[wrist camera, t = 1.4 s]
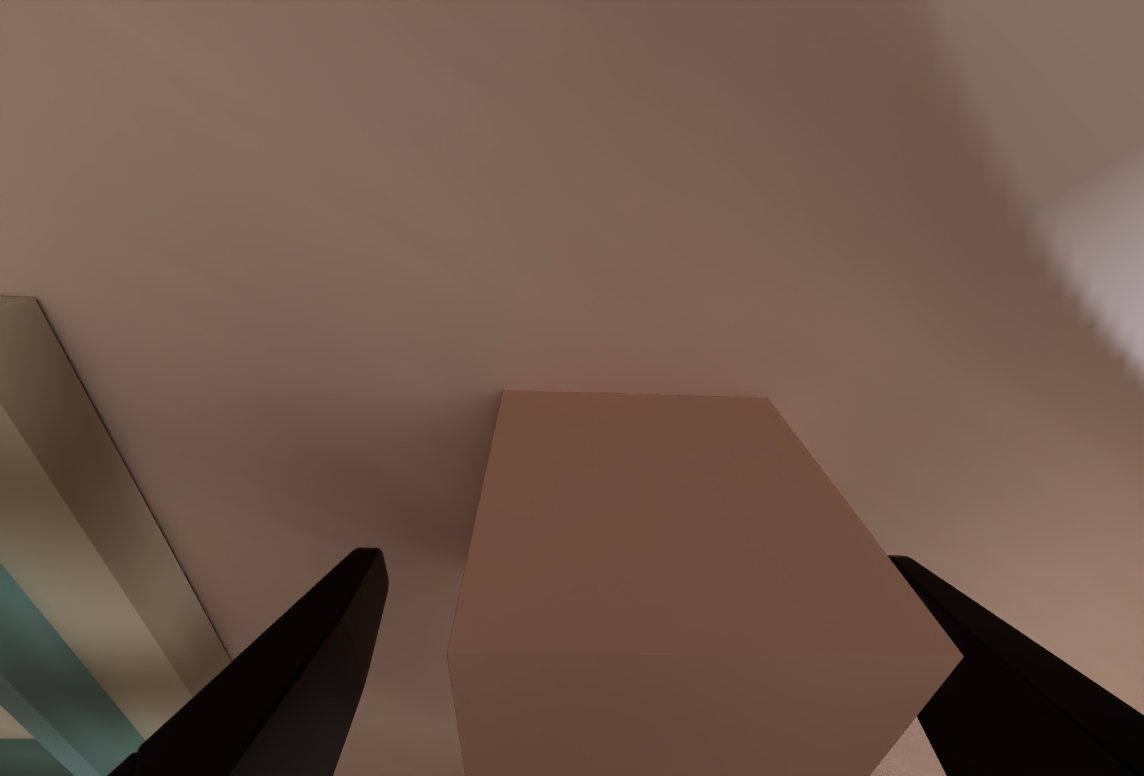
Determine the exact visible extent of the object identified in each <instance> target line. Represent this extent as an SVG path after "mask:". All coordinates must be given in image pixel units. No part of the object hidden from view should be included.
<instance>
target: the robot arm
mask: <svg viewBox="0 0 1144 776" xmlns="http://www.w3.org/2000/svg"><path fill="white" fill-rule="evenodd" d="M887 556H888V557H889V558H890V560H891V561H892V562H893V564H894V565H895V566H896V568H897V569H898V570H899V572H900V573H901V574H902V576H903V577H904V578H905V579H906V581H907V582H908V583H909V585H910V586H911V587H912V589H913V590H914V591H915V593H916V594H917V595H918V597H919V598H920V599H921V601H922V602H923V603H924V605H925V606H926V607H927V608H928V610H929V611H930V612H931V614H932V615H933V616H934V618H935V619H936V620H937V622H938V623H939V624H940V626H941V627H942V628H943V630H944V631H945V632H946V634H947V635H948V636H949V637H950V639H951V640H952V641H953V643H954V644H955V645H956V647H957V648H958V649H959V651H960V652H961V653H962V655H963V656H964V657H963V658H962V660H961V661H960V662H959V663H958V665H957V666H956V667H955V668H954V670H953V671H952V672H951V674H950V675H949V676H948V677H947V679H946V680H945V681H944V682H943V684H942V685H941V686H940V687H939V689H938V690H937V691H936V692H935V694H934V695H933V696H932V697H931V699H930V700H929V701H928V703H927V704H926V705H925V706H924V708H923V709H922V710H921V711H920V713H919V714H918V715H917V718H918V720H919V722H920V724H921V726H922V728H923V730H924V732H925V734H926V736H927V738H928V740H929V742H930V744H931V746H932V748H933V750H934V752H935V754H936V756H937V758H938V760H939V762H940V763H941V765H942V767H943V769H944V771H945V773H946V775H947V776H1144V715H1143V714H1141V713H1140V712H1138V711H1137V710H1135V709H1134V708H1132V707H1131V706H1129V705H1128V704H1126V703H1125V702H1123V701H1122V700H1120V699H1119V698H1117V697H1116V696H1114V695H1113V694H1111V693H1110V692H1108V691H1107V690H1106V689H1104V688H1103V687H1101V686H1100V685H1098V684H1097V683H1095V682H1094V681H1092V680H1091V679H1089V678H1088V677H1086V676H1085V675H1083V674H1082V673H1080V672H1079V671H1077V670H1076V669H1074V668H1073V667H1071V666H1070V665H1068V664H1067V663H1066V662H1064V661H1063V660H1061V659H1060V658H1058V657H1057V656H1055V655H1054V654H1052V653H1051V652H1049V651H1048V650H1046V649H1045V648H1043V647H1042V646H1040V645H1039V644H1037V643H1036V642H1034V641H1033V640H1031V639H1030V638H1028V637H1027V636H1025V635H1024V634H1023V633H1021V632H1020V631H1018V630H1017V629H1015V628H1014V627H1012V626H1011V625H1009V624H1008V623H1006V622H1005V621H1003V620H1002V619H1000V618H999V617H997V616H996V615H994V614H993V613H991V612H990V611H988V610H987V609H985V608H984V607H983V606H981V605H980V604H978V603H977V602H975V601H974V600H972V599H971V598H969V597H968V596H966V595H965V594H963V593H962V592H960V591H959V590H957V589H956V588H954V587H953V586H951V585H950V584H948V583H947V582H945V581H944V580H942V579H941V578H940V577H938V576H937V575H935V574H934V573H932V572H931V571H929V570H928V569H926V568H925V567H923V566H922V565H920V564H919V563H917V562H916V561H914V560H913V559H911V558H909V557H907V556H897V555H887ZM388 586H389V579H388V574H387V569H386V565H385V560H384V556H383V552H382V550H381V549H380V548H369V547H360V548H356V549H355V550H353V551H352V552H351V553H350V554H348V555H347V556H346V557H345V558H344V559H343V560H342V561H341V562H340V563H339V564H338V565H336V566H335V567H334V568H333V569H332V570H331V571H330V572H329V573H328V574H327V575H326V576H324V577H323V578H322V579H321V580H320V581H319V582H318V583H317V584H316V585H315V586H314V587H312V588H311V589H310V590H309V591H308V592H307V593H306V594H305V595H304V596H303V597H302V598H300V599H299V600H298V601H297V602H296V603H295V604H294V605H293V606H292V607H291V608H290V609H288V610H287V611H286V612H285V613H284V614H283V615H282V616H281V617H280V618H279V619H278V620H276V621H275V622H274V623H273V624H272V625H271V626H270V627H269V628H268V629H267V630H266V631H264V632H263V633H262V634H261V635H260V636H259V637H258V638H257V639H256V640H255V641H254V642H253V643H251V644H250V645H249V646H248V647H247V648H246V649H245V650H244V651H243V652H242V653H241V654H239V655H238V656H237V657H236V658H235V659H234V660H233V661H232V662H231V663H230V664H229V665H227V666H226V667H225V668H224V669H223V670H222V671H221V672H220V673H219V674H218V675H217V676H215V677H214V678H213V679H212V680H211V681H210V682H209V683H208V684H207V685H206V686H205V687H203V688H202V689H201V690H200V691H199V692H198V693H197V694H196V695H195V696H194V697H193V698H191V699H190V700H189V701H188V702H187V703H186V704H185V705H184V706H183V707H182V708H181V709H179V710H178V711H177V712H176V713H175V714H174V715H173V716H172V717H171V718H170V719H169V720H167V721H166V722H165V723H164V724H163V725H162V726H161V727H160V728H159V729H158V730H157V731H155V732H154V733H153V734H152V735H151V736H150V737H149V738H148V739H147V740H146V741H145V742H143V743H142V744H141V745H140V746H139V748H138V751H137V752H134V753H131V754H130V755H129V756H128V757H127V758H126V759H125V760H124V761H122V762H121V763H120V764H119V765H118V766H117V767H116V768H115V769H114V770H113V771H112V772H110V773H109V774H108V775H107V776H333V774H334V771H335V769H336V766H337V763H338V760H339V757H340V754H341V752H342V749H343V746H344V743H345V740H346V737H347V735H348V732H349V729H350V726H351V723H352V720H353V718H354V715H355V712H356V709H357V706H358V704H359V701H360V698H361V695H362V692H363V688H364V685H365V682H366V678H367V675H368V671H369V667H370V663H371V659H372V655H373V650H374V646H375V642H376V638H377V634H378V630H379V626H380V622H381V618H382V613H383V609H384V605H385V601H386V597H387V593H388Z"/></svg>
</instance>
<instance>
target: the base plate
mask: <svg viewBox="0 0 1144 776" xmlns="http://www.w3.org/2000/svg"><path fill="white" fill-rule="evenodd" d="M230 663H231V660H230V658H229V656H228V655H227V653H226V651H225V649H224V647H223V645H222V644H221V642H220V640H219V638H218V636H217V634H216V632H215V631H214V629H213V627H212V625H211V623H210V621H209V619H208V618H207V616H206V614H205V612H204V610H203V608H202V607H201V605H200V603H199V601H198V599H197V597H196V595H195V594H194V592H193V590H192V588H191V586H190V584H189V583H188V581H187V579H186V577H185V575H184V573H183V571H182V570H181V568H180V566H179V564H178V562H177V560H176V558H175V557H174V555H173V553H172V551H171V549H170V547H169V546H168V544H167V542H166V540H165V538H164V536H163V534H162V533H161V531H160V529H159V527H158V525H157V523H156V522H155V520H154V518H153V516H152V514H151V512H150V510H149V509H148V507H147V505H146V503H145V501H144V499H143V498H142V496H141V494H140V492H139V490H138V488H137V486H136V485H135V483H134V481H133V479H132V477H131V475H130V473H129V472H128V470H127V468H126V466H125V464H124V462H123V461H122V459H121V457H120V455H119V453H118V451H117V449H116V448H115V446H114V444H113V442H112V440H111V438H110V437H109V435H108V433H107V431H106V429H105V427H104V425H103V424H102V422H101V420H100V418H99V416H98V414H97V412H96V411H95V409H94V407H93V405H92V403H91V401H90V400H89V398H88V396H87V394H86V392H85V390H84V388H83V387H82V385H81V383H80V381H79V379H78V377H77V376H76V374H75V372H74V370H73V368H72V366H71V364H70V363H69V361H68V359H67V357H66V355H65V353H64V351H63V350H62V348H61V346H60V344H59V342H58V340H57V339H56V337H55V335H54V333H53V331H52V329H51V327H50V326H49V324H48V322H47V320H46V318H45V316H44V315H43V313H42V311H41V309H40V307H39V305H38V303H37V302H36V300H35V298H34V297H9V296H0V776H107V775H108V774H109V773H110V772H112V771H113V770H114V769H115V768H116V767H117V766H118V765H119V764H120V763H121V762H122V761H124V760H125V759H126V758H127V757H128V756H129V755H130V754H131V753H134V752H137V751H138V748H139V746H140V745H141V744H142V743H143V742H145V741H146V740H147V739H148V738H149V737H150V736H151V735H152V734H153V733H154V732H155V731H157V730H158V729H159V728H160V727H161V726H162V725H163V724H164V723H165V722H166V721H167V720H169V719H170V718H171V717H172V716H173V715H174V714H175V713H176V712H177V711H178V710H179V709H181V708H182V707H183V706H184V705H185V704H186V703H187V702H188V701H189V700H190V699H191V698H193V697H194V696H195V695H196V694H197V693H198V692H199V691H200V690H201V689H202V688H203V687H205V686H206V685H207V684H208V683H209V682H210V681H211V680H212V679H213V678H214V677H215V676H217V675H218V674H219V673H220V672H221V671H222V670H223V669H224V668H225V667H226V666H227V665H229V664H230Z"/></svg>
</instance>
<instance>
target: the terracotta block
mask: <svg viewBox="0 0 1144 776" xmlns="http://www.w3.org/2000/svg"><path fill="white" fill-rule="evenodd" d="M963 657H964V656H963V655H962V653H961V652H960V651H959V649H958V648H957V647H956V645H955V644H954V643H953V641H952V640H951V639H950V637H949V636H948V635H947V634H946V632H945V631H944V630H943V628H942V627H941V626H940V624H939V623H938V622H937V620H936V619H935V618H934V616H933V615H932V614H931V612H930V611H929V610H928V608H927V607H926V606H925V605H924V603H923V602H922V601H921V599H920V598H919V597H918V595H917V594H916V593H915V591H914V590H913V589H912V587H911V586H910V585H909V583H908V582H907V581H906V579H905V578H904V577H903V576H902V574H901V573H900V572H899V570H898V569H897V568H896V566H895V565H894V564H893V562H892V561H891V560H890V558H889V557H888V556H887V554H886V553H885V552H884V550H883V549H882V548H881V547H880V545H879V544H878V543H877V541H876V540H875V539H874V537H873V536H872V535H871V533H870V532H869V531H868V529H867V528H866V527H865V525H864V524H863V523H862V521H861V520H860V519H859V518H858V516H857V515H856V514H855V512H854V511H853V510H852V508H851V507H850V506H849V504H848V503H847V502H846V500H845V499H844V498H843V496H842V495H841V494H840V492H839V491H838V490H837V489H836V487H835V486H834V485H833V483H832V482H831V481H830V479H829V478H828V477H827V475H826V474H825V473H824V471H823V470H822V469H821V467H820V466H819V465H818V463H817V462H816V461H815V459H814V458H813V457H812V456H811V454H810V453H809V452H808V450H807V449H806V448H805V446H804V445H803V444H802V442H801V441H800V440H799V438H798V437H797V436H796V434H795V433H794V432H793V430H792V429H791V428H790V427H789V425H788V424H787V423H786V421H785V420H784V419H783V417H782V416H781V415H780V413H779V412H778V411H777V409H776V408H775V407H774V405H773V404H772V403H771V401H770V400H769V399H768V398H758V397H723V396H687V395H652V394H616V393H581V392H545V391H510V390H503V394H502V399H501V403H500V408H499V413H498V417H497V422H496V427H495V431H494V436H493V441H492V445H491V450H490V455H489V459H488V464H487V469H486V473H485V478H484V483H483V487H482V492H481V497H480V501H479V506H478V511H477V515H476V520H475V525H474V529H473V534H472V539H471V543H470V548H469V553H468V557H467V562H466V567H465V571H464V576H463V581H462V585H461V590H460V595H459V599H458V604H457V609H456V613H455V618H454V623H453V627H452V632H451V637H450V641H449V646H448V651H447V659H448V665H449V672H450V679H451V686H452V692H453V699H454V706H455V712H456V719H457V726H458V733H459V739H460V746H461V753H462V759H463V766H464V773H465V776H870V774H871V773H872V772H873V771H874V769H875V768H876V767H877V766H878V764H879V763H880V762H881V760H882V759H883V758H884V757H885V755H886V754H887V753H888V752H889V750H890V749H891V748H892V747H893V745H894V744H895V743H896V742H897V740H898V739H899V738H900V737H901V735H902V734H903V733H904V731H905V730H906V729H907V728H908V726H909V725H910V724H911V723H912V721H913V720H914V719H915V718H916V716H917V715H918V714H919V713H920V711H921V710H922V709H923V708H924V706H925V705H926V704H927V703H928V701H929V700H930V699H931V697H932V696H933V695H934V694H935V692H936V691H937V690H938V689H939V687H940V686H941V685H942V684H943V682H944V681H945V680H946V679H947V677H948V676H949V675H950V674H951V672H952V671H953V670H954V668H955V667H956V666H957V665H958V663H959V662H960V661H961V660H962V658H963Z"/></svg>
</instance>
